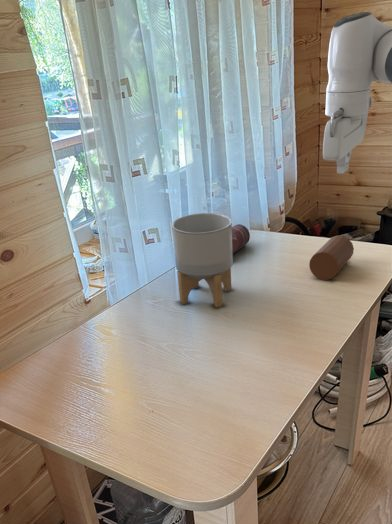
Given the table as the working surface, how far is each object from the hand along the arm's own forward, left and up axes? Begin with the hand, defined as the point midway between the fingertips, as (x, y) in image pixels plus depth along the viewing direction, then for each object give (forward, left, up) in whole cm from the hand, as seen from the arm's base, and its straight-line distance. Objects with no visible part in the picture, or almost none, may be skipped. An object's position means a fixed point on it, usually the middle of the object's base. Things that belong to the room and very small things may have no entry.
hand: (342, 172), depth 116 cm
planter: (+23, +25, -24) cm, 42 cm away
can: (+29, -8, -21) cm, 37 cm away
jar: (+1, +7, -20) cm, 22 cm away
